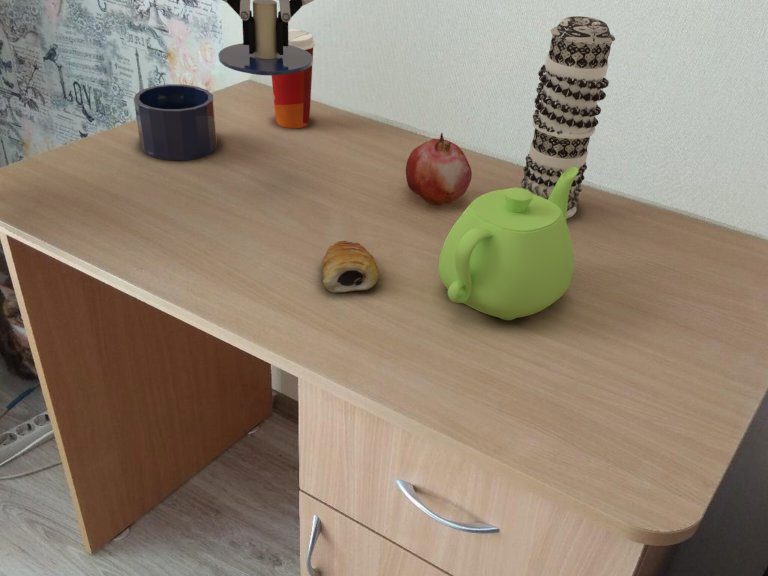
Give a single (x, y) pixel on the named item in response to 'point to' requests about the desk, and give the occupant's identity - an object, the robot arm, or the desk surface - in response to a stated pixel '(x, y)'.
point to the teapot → (510, 251)
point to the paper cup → (294, 87)
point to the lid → (265, 47)
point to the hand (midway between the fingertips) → (266, 50)
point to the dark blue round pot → (176, 121)
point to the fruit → (438, 171)
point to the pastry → (348, 268)
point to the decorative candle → (567, 105)
